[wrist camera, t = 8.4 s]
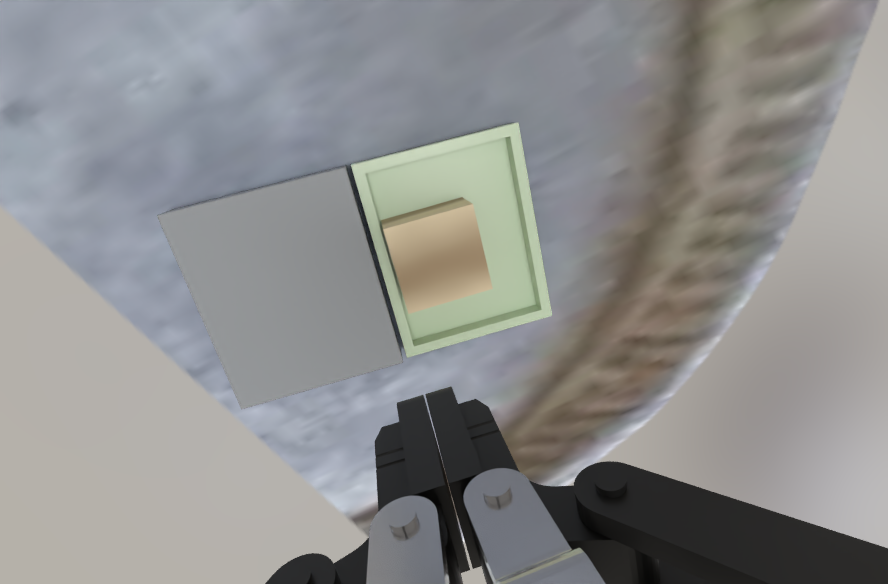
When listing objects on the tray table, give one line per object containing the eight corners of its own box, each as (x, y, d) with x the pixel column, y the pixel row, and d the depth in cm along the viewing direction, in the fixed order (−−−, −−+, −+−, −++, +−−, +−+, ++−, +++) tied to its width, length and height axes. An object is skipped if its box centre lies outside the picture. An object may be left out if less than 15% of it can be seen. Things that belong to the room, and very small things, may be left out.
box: (351, 163, 28) (350, 165, 27) (510, 123, 29) (518, 122, 28) (405, 347, 32) (407, 357, 31) (543, 307, 33) (552, 315, 32)
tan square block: (380, 220, 29) (383, 229, 26) (462, 197, 29) (472, 203, 27) (404, 297, 31) (408, 314, 28) (480, 274, 31) (492, 288, 28)
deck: (170, 209, 27) (156, 215, 26) (346, 165, 28) (345, 167, 26) (248, 392, 31) (241, 409, 30) (400, 349, 32) (403, 362, 30)
